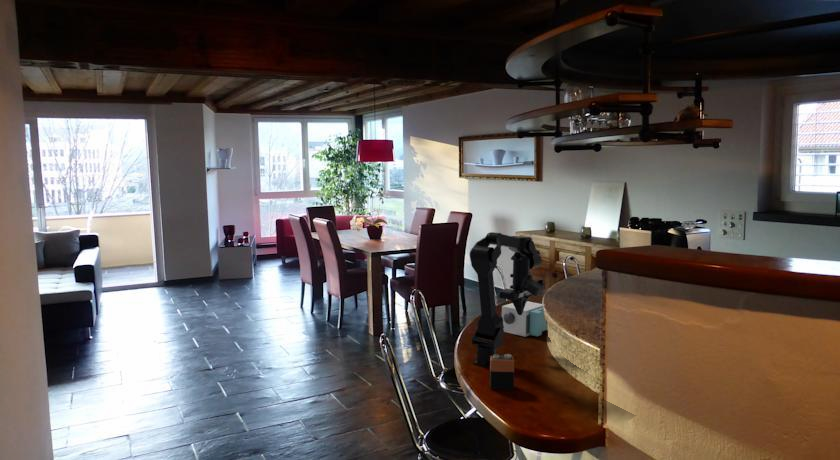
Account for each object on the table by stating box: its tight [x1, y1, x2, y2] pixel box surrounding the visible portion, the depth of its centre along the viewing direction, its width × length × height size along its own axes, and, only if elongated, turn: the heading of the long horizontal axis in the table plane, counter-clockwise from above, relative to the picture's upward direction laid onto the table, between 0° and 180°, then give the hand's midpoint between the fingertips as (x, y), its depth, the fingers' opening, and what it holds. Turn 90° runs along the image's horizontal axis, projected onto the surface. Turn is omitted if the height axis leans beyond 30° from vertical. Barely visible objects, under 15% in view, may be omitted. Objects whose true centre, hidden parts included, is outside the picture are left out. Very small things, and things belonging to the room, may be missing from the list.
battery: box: [489, 353, 515, 391], centre depth 179 cm, size 4×7×10 cm, turn 87°
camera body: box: [501, 300, 543, 338], centre depth 240 cm, size 15×11×10 cm
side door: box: [529, 308, 548, 337], centre depth 235 cm, size 11×4×9 cm, turn 137°
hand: (520, 314), depth 217 cm, fingers closed
